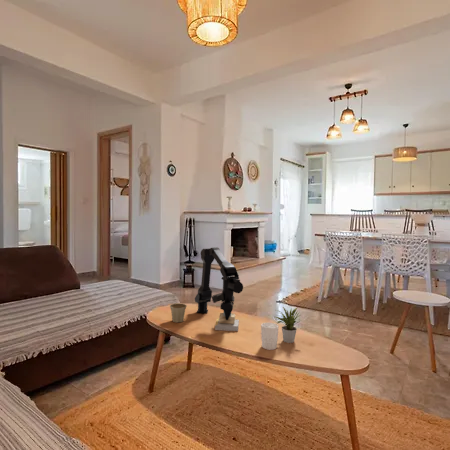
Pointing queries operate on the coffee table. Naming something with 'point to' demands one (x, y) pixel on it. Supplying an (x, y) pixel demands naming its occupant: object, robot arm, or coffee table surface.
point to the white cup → (269, 335)
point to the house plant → (288, 325)
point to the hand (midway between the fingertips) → (227, 318)
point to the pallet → (230, 320)
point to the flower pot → (178, 312)
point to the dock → (227, 326)
